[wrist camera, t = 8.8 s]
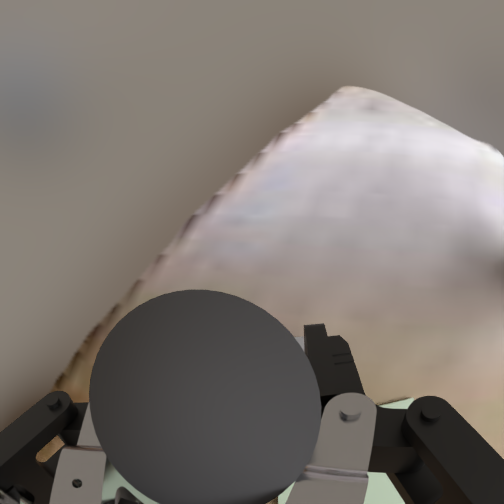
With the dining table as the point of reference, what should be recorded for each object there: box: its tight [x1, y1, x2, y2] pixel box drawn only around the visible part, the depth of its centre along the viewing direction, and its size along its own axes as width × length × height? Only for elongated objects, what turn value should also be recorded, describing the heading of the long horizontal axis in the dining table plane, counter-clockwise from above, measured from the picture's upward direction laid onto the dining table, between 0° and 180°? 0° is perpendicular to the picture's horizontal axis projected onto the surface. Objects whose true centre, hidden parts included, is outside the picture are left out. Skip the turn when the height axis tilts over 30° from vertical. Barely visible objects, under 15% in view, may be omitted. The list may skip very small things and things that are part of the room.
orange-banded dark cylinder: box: [89, 290, 321, 504], centre depth 8 cm, size 5×5×10 cm
